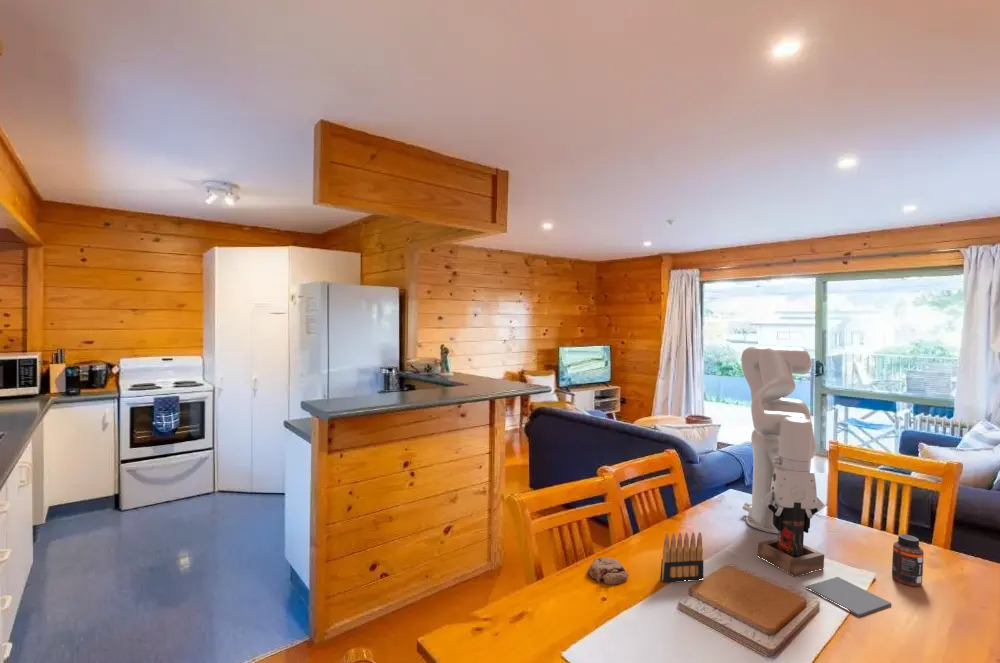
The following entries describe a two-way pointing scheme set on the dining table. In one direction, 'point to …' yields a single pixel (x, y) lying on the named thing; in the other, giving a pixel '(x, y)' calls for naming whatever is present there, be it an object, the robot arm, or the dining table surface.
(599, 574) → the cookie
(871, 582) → the dining table surface
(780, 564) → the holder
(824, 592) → the mat
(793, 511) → the deodorant
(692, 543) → the ammunition clip
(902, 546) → the supplement bottle
